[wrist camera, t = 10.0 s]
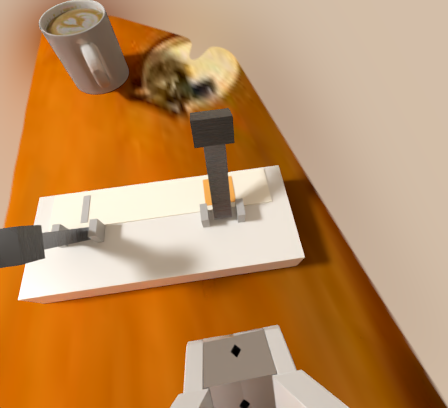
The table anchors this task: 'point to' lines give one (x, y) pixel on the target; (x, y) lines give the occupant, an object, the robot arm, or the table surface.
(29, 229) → the unmarked lever
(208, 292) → the table surface
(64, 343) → the table surface
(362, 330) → the table surface
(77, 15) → the coffee mug
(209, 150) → the marked lever
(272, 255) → the switch console
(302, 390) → the robot arm
